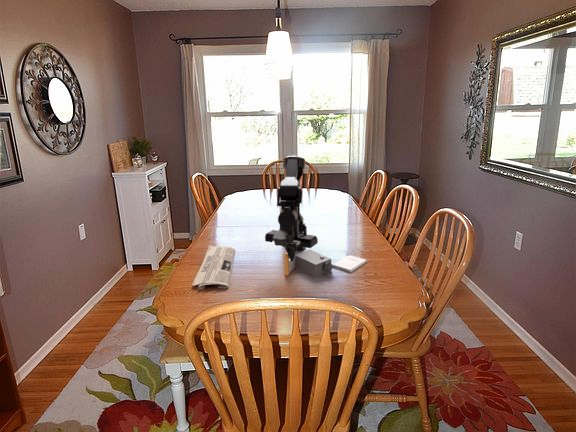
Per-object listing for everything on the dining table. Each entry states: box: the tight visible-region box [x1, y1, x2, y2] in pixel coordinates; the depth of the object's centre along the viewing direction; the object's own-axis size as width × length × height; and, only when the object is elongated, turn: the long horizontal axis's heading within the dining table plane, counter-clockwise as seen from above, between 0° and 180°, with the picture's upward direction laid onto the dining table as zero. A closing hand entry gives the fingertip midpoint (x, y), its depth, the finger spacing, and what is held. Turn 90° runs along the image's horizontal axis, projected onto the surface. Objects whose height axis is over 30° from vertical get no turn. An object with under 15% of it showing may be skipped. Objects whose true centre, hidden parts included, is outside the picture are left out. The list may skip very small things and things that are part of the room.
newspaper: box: [191, 244, 236, 291], centre depth 145 cm, size 35×12×4 cm, turn 4°
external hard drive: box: [332, 254, 368, 273], centre depth 147 cm, size 2×8×12 cm
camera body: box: [295, 249, 333, 278], centre depth 142 cm, size 14×8×6 cm, turn 38°
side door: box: [283, 252, 296, 276], centre depth 140 cm, size 8×1×8 cm, turn 158°
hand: (291, 261), depth 135 cm, fingers closed
